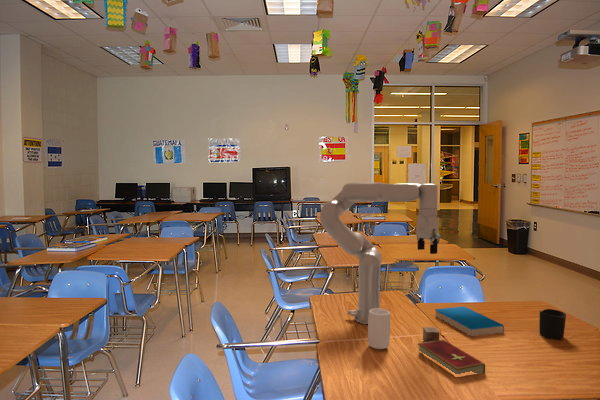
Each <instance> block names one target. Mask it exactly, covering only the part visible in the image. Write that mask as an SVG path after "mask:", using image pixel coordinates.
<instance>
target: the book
mask: <svg viewBox="0 0 600 400" xmlns="http://www.w3.org/2000/svg"><path fill="white" fill-rule="evenodd" d="M434 311H435V317H436V318H437V317H438V318H437V319H439V318H440V320H441V319H442V320H441V321H443V320H444V321H443V322H444V323H446V322H447V323H446V324H448V323H449V324H448V325H450V326H451V327H453V326H454V328H455V327H456V329H457V328H458V329H457V330H459V331H460V330H461V331H460V332H462V331H463V332H462V333H464V332H465V333H464V334H466V333H467V334H466V335H468V334H469V335H470V336H469V335H468V336H469V337H471V336H473V337H478V336H477V335H481V336H488V335H487V334H489V335H496V334H495V333H498V334H504V333H505V327H504V324H502V323H500V322H498V321H496V320H494V319H492V318H489V317H488V316H485V315H484V314H482V313H479V312H477V311H475V310H473V309H471V308H469V307H466V306H465V305H464V306H455V307H446V308H435V309H434Z"/></svg>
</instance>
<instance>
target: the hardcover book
mask: <svg viewBox="0 0 600 400" xmlns="http://www.w3.org/2000/svg"><path fill="white" fill-rule="evenodd" d="M417 345H418V351H421V352H422V353H424V354H426V355H427V356H429V357H431V358H432V359H434V360H436V361H437V362H439V363H440V364H442V365H443V366H445V367H446V368H448V369H449V370H451V371H452V372H454V373H455V374H461V373H465V372H470V371H472V372H474V373H477V374H476V375H480V374H486V364H485V362H483V361H481V360H479V359H477V358H476V357H474V356H472V355H470V354H469V353H468V352H465V351H464V350H462V349H461V348H458V347H457V346H455V345H453V344H452V343H450V342H448V341H446V340H445V339H439V340H437V341H430V342H424V343H423V342H419V343H417Z"/></svg>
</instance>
